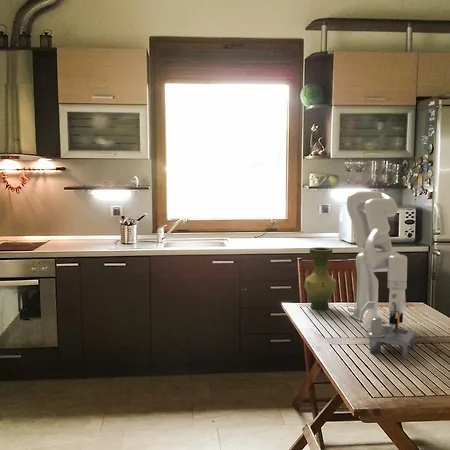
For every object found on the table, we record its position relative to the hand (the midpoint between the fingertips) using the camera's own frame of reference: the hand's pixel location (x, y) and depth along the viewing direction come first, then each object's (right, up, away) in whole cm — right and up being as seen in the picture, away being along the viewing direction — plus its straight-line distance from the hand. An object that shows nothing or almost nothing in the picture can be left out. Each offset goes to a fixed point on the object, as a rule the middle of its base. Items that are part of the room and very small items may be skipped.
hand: (396, 324), depth 207 cm
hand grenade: (-10, -4, +7) cm, 13 cm away
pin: (0, -5, +1) cm, 5 cm away
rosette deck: (-9, -7, -14) cm, 18 cm away
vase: (-24, 0, +43) cm, 49 cm away
